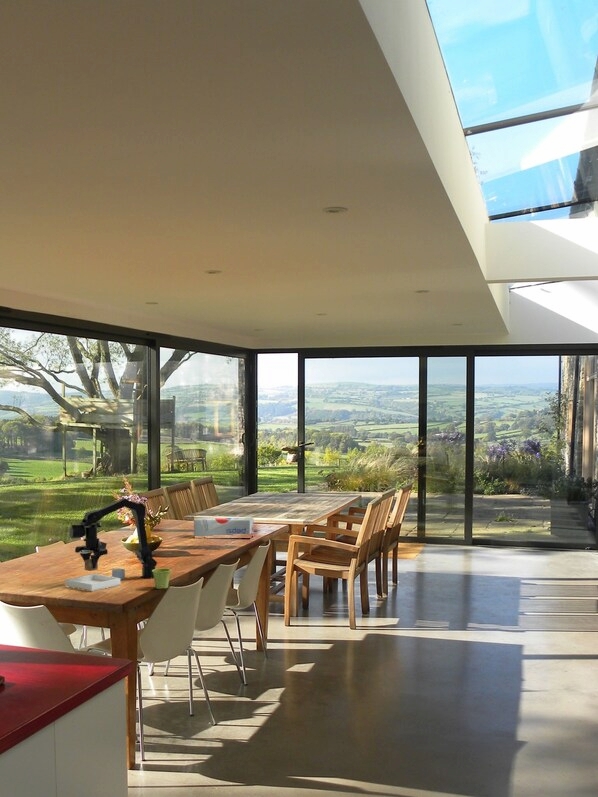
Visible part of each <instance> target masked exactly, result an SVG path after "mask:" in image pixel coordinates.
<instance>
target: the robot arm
mask: <svg viewBox="0 0 598 797" xmlns="http://www.w3.org/2000/svg"><path fill="white" fill-rule="evenodd" d="M124 508H126V509H130V511H131V514H132V516H133V518H134V520H135V526H136V532H137V539H138V549H137V550H135V553H136V558H137V559H138V561H139V562H140V563H141V565H142V571H141V574H142V575H141V576H139V578H142V577H143V579H148V578H149V579H154V578H153V577H154V575H153V572H152V570H154V569H156V567H157V564H158V562H157V560H155V558H154V557H153V554H152V551H151V549H150V547H149V542H148V536H147V528H146V521H145V518H146V514H147V513H146V505H145V504H143V503H141V502H134V501H131V500H129V499H127V498H120V499H119V500H117V501H114V502H113V503H110V504H107V505H106V506H103V507H101V508H98V509H93V510H89V511H86V512H85V513H84V516H83V519H82V520H81V522H80V523H79V524H73V523H72V524H71V525H70V529H69V537H70V538H71V539H80V538H81V539H82V538H83V542H85V543H84V544H85V545H78V546H75V549H74V552H75V553H77V554H79V555H80V557H81V558H82V560H83V562H84V563H85V560H87V559H91V561H92V565H93V568H96V565H97V562H99V559H100V558H101V556H105V555H108V554H109V553H108V549H107V544H108V543H107V542H103V541H100V538H99V537H98V528H102V525H101V524H100V523H99V522H100V521H101V520H102V519H103V518H104V517H105V516H108V515H111V514H112V513H114V512H117V511H119V510H120V509H124ZM84 537H85V538H84Z"/></svg>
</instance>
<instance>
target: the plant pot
mask: <svg viewBox="0 0 598 797" xmlns="http://www.w3.org/2000/svg"><path fill="white" fill-rule="evenodd" d="M152 572H153V575H154V578H153V580H154V587H155V589H156V590H157V589H158V590H161V589H168V588H169V581H170V576H171V575H170V574H171V572H172V569H170V568H155V569H154V570H152Z"/></svg>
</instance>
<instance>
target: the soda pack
mask: <svg viewBox="0 0 598 797" xmlns="http://www.w3.org/2000/svg"><path fill="white" fill-rule="evenodd" d="M251 533H253V534H254V517H198V518H195V519H193V537H194V536H213V535H233V534H251Z"/></svg>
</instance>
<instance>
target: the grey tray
mask: <svg viewBox="0 0 598 797" xmlns="http://www.w3.org/2000/svg"><path fill="white" fill-rule="evenodd" d="M64 581H65V585H64V586H69V587H68V588H70V587H74V588H73V589H75V588H79V589H78V590H80V589H84V590H83V591H85V590H88V591H87V592H90V591H93V592H97V591H101V590H100V589H102V590H105V588H106V589H110V588H109V587H111V588H114V586H115V587H119V586H121V580H120V578H116V577H112V576H109V575H103V574H98V573H91V574H87V575H81V576H77V577H72V578H68V579H65V580H64ZM96 590H97V591H96Z"/></svg>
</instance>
